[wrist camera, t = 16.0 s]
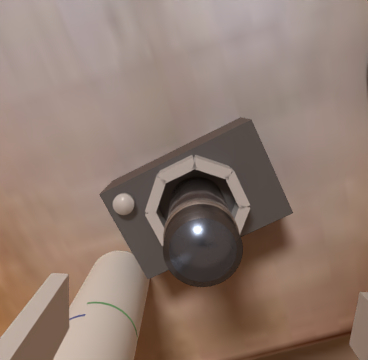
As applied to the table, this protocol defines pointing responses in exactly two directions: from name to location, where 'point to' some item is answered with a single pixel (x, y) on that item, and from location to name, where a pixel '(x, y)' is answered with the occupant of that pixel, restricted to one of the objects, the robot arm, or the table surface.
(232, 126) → the camera body
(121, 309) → the cylindrical container
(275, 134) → the table surface
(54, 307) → the robot arm
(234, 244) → the dark grey peg
